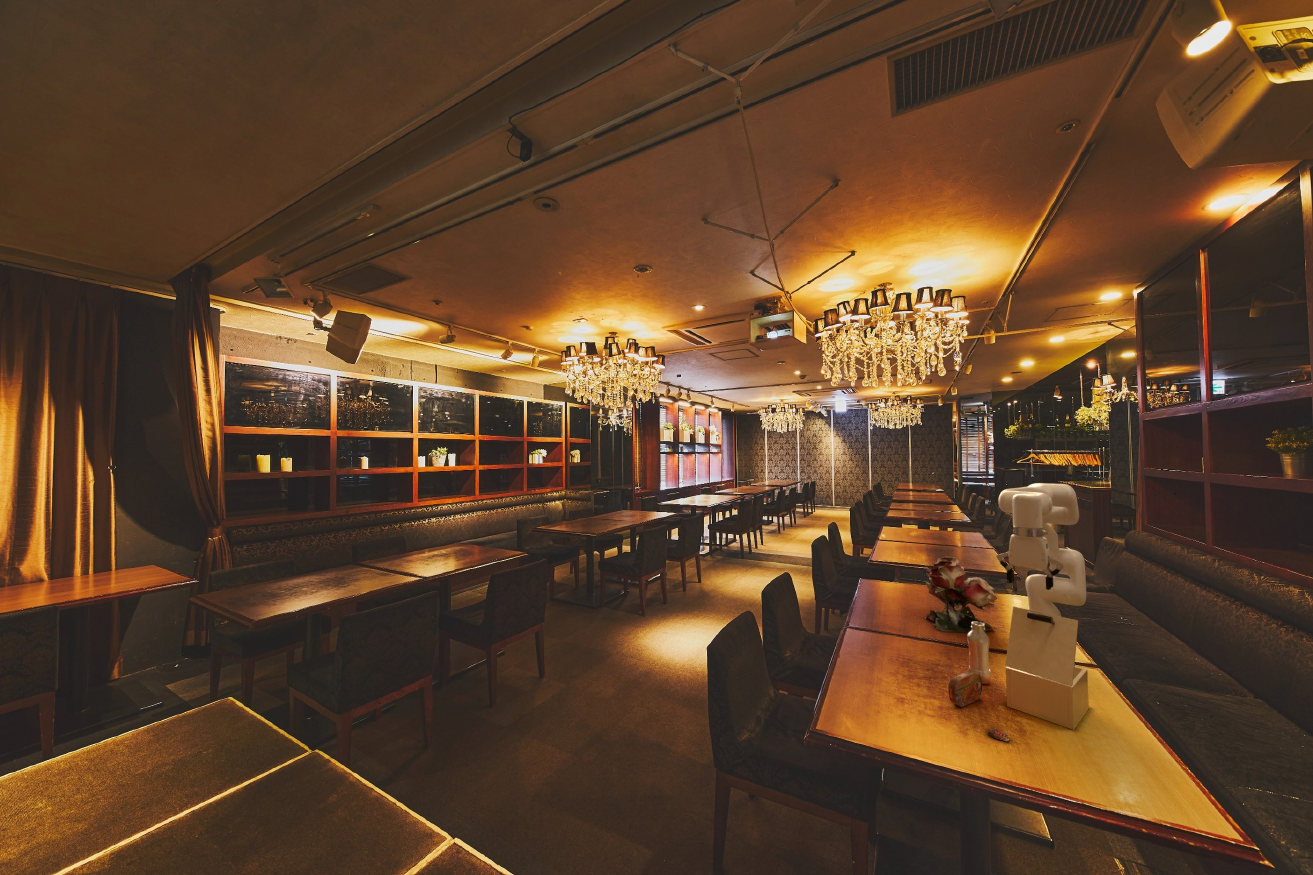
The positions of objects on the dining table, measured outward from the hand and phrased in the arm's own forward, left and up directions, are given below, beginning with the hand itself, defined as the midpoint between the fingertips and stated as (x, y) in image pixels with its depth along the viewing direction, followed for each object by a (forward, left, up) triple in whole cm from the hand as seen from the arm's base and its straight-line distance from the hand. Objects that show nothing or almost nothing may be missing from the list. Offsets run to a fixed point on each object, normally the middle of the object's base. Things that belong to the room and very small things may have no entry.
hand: (1029, 585), depth 151 cm
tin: (+18, -13, -37) cm, 43 cm away
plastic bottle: (0, -15, -37) cm, 40 cm away
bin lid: (+6, +4, -16) cm, 17 cm away
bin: (+2, +4, -37) cm, 37 cm away
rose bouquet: (-55, -43, -37) cm, 79 cm away
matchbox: (+31, 0, -37) cm, 48 cm away
